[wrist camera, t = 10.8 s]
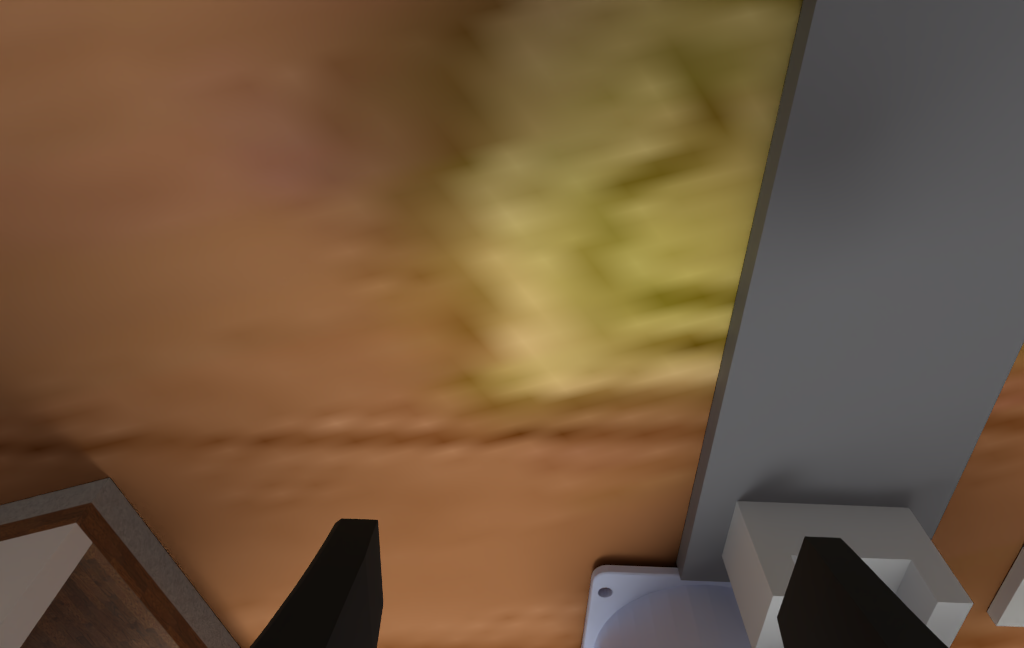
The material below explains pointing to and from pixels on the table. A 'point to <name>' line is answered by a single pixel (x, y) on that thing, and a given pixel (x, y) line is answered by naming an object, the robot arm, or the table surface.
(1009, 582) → the mat
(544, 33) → the table surface
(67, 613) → the display case
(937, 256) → the rack
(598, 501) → the table surface
